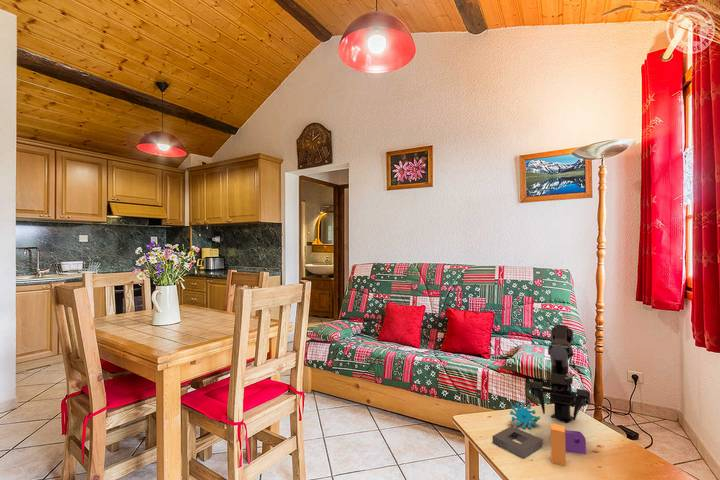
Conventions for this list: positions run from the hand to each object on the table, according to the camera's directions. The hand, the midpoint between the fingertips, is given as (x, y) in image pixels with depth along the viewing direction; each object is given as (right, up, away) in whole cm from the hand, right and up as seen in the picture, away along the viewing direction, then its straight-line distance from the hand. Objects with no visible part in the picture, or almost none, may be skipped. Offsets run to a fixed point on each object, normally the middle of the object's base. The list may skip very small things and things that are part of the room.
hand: (558, 416), depth 126 cm
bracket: (+7, -13, +5) cm, 15 cm away
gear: (-3, -13, +18) cm, 23 cm away
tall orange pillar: (-3, -12, -5) cm, 14 cm away
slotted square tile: (-12, -12, +5) cm, 18 cm away
